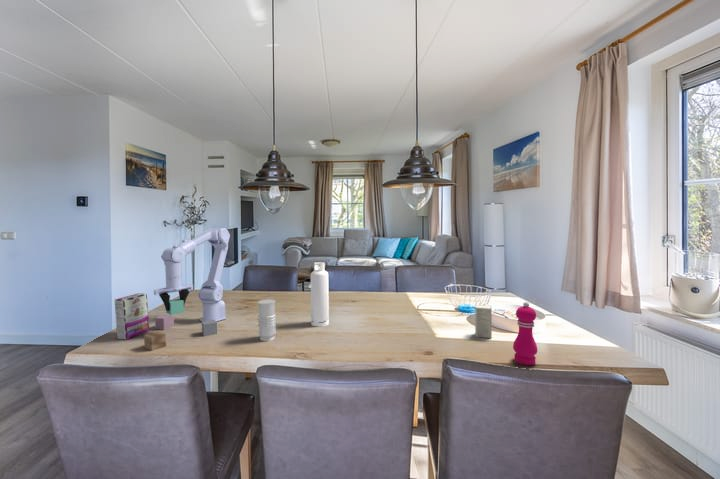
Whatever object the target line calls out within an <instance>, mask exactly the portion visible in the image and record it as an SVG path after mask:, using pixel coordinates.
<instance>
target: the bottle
mask: <svg viewBox="0 0 720 479" xmlns="http://www.w3.org/2000/svg"><path fill="white" fill-rule="evenodd" d="M313 263H314V264H313V271H312V272H311V273H310V320H311V321H310V324H311V326H313V327H326V326H328V325H329V324H330V320H329V319H330V305H329V304H330V300H329V299H330V298H329V292H330V291H329V288H330V287H329V285H330V284H329V283H330V282H329V272H328V271H327V270H325V268H326V266H325V264H326V263H325V262H320V261H319V262H318V261H317V262H313Z"/></svg>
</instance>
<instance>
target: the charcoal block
mask: <svg viewBox="0 0 720 479" xmlns="http://www.w3.org/2000/svg"><path fill="white" fill-rule="evenodd" d="M201 334H202V335H203V337H208V336H214V335H218V321H215V319H214V320H208V321H201Z"/></svg>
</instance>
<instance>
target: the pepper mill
mask: <svg viewBox="0 0 720 479" xmlns="http://www.w3.org/2000/svg"><path fill="white" fill-rule="evenodd" d="M515 316H516V318H517V322H516V323H517V326H518V334H517V336H516V338H515V339H514V341H513V343H512V344H513V346H512V349H513V351H514V352H515V353H514V358H513V359H514V361H515V362H517V363H519V364H520V365H525V366H531V365H535V364H536V356H535V355H537V353H538V346H537V342H536V340H535V338H534V336H533V335H534V334H533V328H534V327H535V320H536V318H537V312H536V310H535V309H534V308H532V307H530V303H529V302H528V301H524V302H523V304H522V306H518V308H517V309H516V311H515Z"/></svg>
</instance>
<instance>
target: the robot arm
mask: <svg viewBox="0 0 720 479" xmlns="http://www.w3.org/2000/svg"><path fill="white" fill-rule="evenodd" d="M230 237H231V234H230V232H229V230H228V229H227V228H224V227H222V228H215V227H214V228H213V227H209V228H207V229H204V230H203V232H201V233H200V234H198V235H196V236H195V237H193V238H192V239H185V238H184V239H182V240H181V242H180V243H178V244H174V245H173V247H171V248H170V247H168V248H166V249H164V250H163V251H162V254H161V256H160V257H161V259H162V261H163V264H164V266H165V267H164V268H165V269H164V270H165V287H162V288H158V289H154V290H153V295H154V296H159V297H160V299H161V301H162V303H163V304H164V308H165V312H166V311H170V305H169V300H171V296H170V294H172V293H175V292H176V293H177V292H178V294H179V295H178V296H179V299H181V300H183V301H184V306H185V305H186V304H185V303H186V300H187V298H188V297H189V294H190V290H191V291H192V290H194V284H182V283H183V282H182V278H183V277H182V261H183V260H184V258H185V257H186V256H188V255H190V254H191V253H193V252H194V251H195V250H196V249H197V248H196V247H198V246H199V245H202V244H203V243H205V242H207V241H208V243H210V245H211V246H213V248H214V249H215V250H214V253H213V257H212V261H211V265H210V267H209V272H208V273H209V274H208V277H207V280H206V281H205V282H204V283H202V285H201V288H200V289H199V291H198V294H197V297H198V299H199V300H200V301H201V303H202V318H200V319H199V321H200V322H202V321H208V320H214V319H215V321H216V322H219V321H224V320H226V319H227V317H226V316H227V315H226V303H225V301H224V300H222V298H223V294H224V292H223V289H224V285H222V284H221V279H222V278H221V277H222V274H223V270H224V266H225V261H226V257H227V253H228V250H229V241H230Z"/></svg>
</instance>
